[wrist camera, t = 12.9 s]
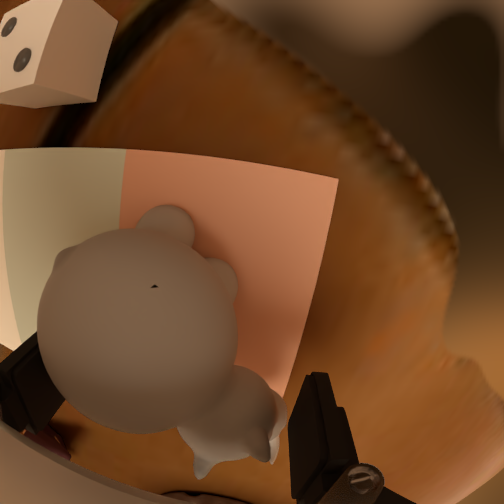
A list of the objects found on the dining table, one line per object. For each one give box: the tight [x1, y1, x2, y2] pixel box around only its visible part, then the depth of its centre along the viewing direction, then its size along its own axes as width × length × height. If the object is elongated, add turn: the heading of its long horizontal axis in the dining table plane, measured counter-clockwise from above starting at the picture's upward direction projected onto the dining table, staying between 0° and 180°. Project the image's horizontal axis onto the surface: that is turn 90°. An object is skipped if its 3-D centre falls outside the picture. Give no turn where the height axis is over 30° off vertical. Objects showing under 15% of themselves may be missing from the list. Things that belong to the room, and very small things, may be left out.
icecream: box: [23, 424, 71, 461], centre depth 17 cm, size 7×7×15 cm
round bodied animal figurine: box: [37, 205, 287, 479], centre depth 10 cm, size 7×12×8 cm, turn 37°
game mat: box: [0, 148, 339, 398], centre depth 15 cm, size 16×30×1 cm, turn 81°
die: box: [0, 0, 118, 108], centre depth 9 cm, size 5×5×5 cm
